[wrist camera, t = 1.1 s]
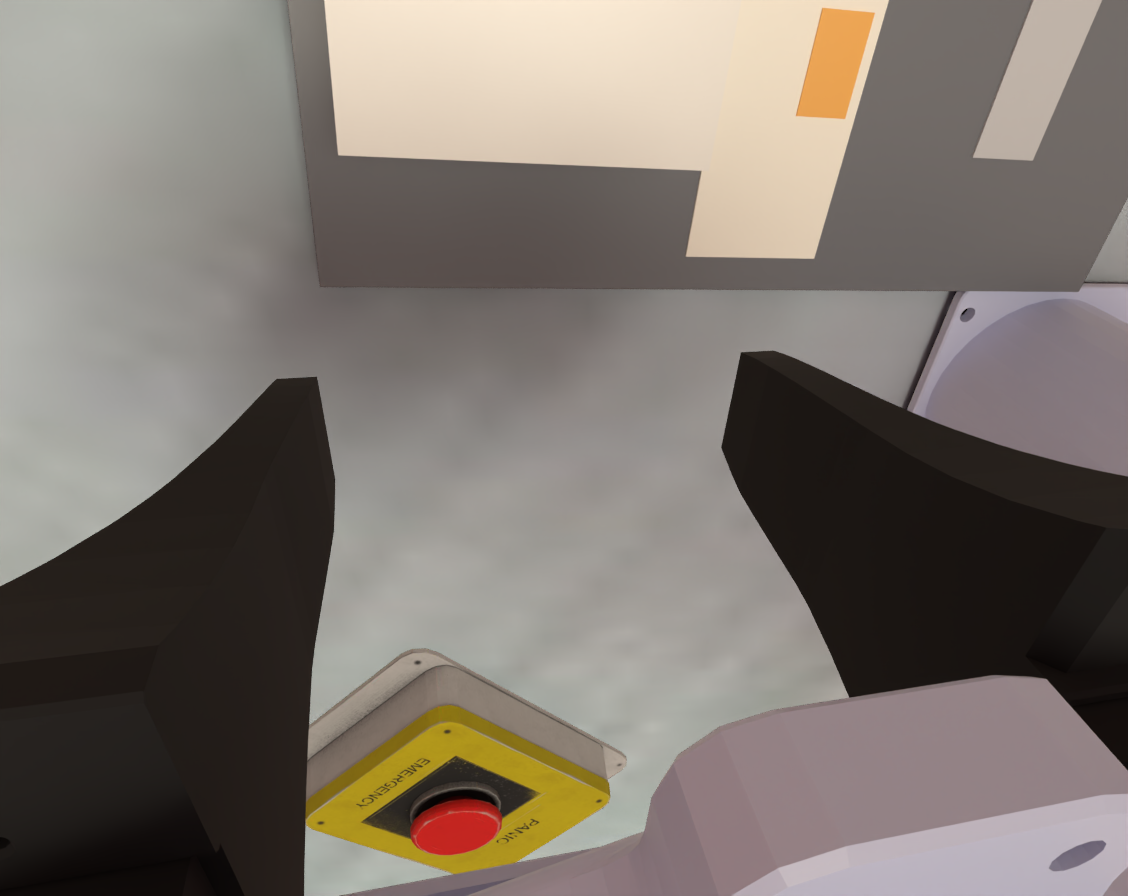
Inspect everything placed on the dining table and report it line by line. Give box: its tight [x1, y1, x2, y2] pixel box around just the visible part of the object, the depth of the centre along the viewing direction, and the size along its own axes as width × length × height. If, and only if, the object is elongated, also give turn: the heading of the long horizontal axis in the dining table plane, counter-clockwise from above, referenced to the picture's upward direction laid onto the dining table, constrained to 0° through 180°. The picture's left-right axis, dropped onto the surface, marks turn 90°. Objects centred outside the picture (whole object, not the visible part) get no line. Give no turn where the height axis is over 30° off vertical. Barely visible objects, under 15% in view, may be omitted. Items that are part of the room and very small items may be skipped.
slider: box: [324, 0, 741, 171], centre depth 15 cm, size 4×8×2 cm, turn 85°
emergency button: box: [306, 648, 627, 874], centre depth 33 cm, size 9×4×15 cm
